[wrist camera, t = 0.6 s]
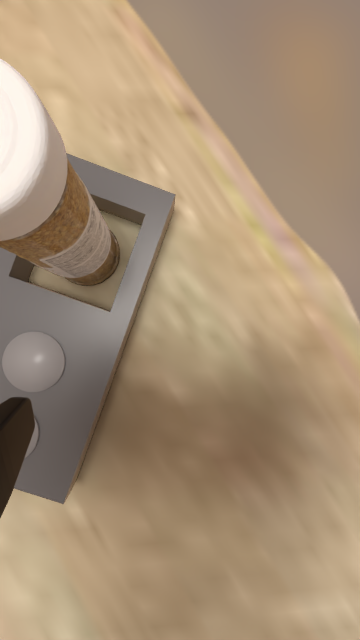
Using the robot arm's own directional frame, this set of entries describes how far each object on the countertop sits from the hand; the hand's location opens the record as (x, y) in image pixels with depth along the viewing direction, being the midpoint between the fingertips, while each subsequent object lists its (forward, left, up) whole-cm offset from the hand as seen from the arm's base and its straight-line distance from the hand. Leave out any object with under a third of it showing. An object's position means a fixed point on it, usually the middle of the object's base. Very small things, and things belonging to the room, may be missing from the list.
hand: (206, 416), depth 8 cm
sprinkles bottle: (+5, +8, -13) cm, 16 cm away
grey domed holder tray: (0, +8, -13) cm, 16 cm away
